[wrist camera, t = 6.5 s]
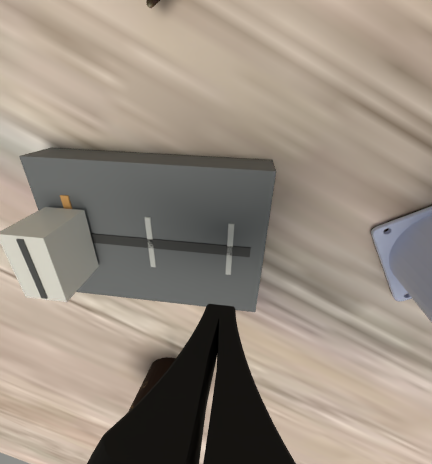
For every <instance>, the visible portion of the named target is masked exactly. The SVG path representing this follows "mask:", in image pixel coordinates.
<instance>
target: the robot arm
mask: <svg viewBox="0 0 432 464" xmlns="http://www.w3.org/2000/svg"><path fill="white" fill-rule="evenodd" d="M387 228H389V229H388V231H386V232H384V230H385V229H387ZM371 235H372V238H373V241H374V244H375V247H376V250H377V253H378V255H379V258H380V261H381V264H382V267H383V270H384V273H385V276H386V278H387V281H388V284H389V287H390V290H391V293H392V296H393V297H394V299H395V300H396V301H404V300H408V299H412V298H413V300H414V301H415V302H416V303H417V305H418V306H419V307H420V308H421V310H422V311H423V312H424V313H425V315H426V316H427V317H428V318H429V320H430V321H431V322H432V206H431V207H428V208H425V209H422V210H420V211H417V212H414V213H412V214H409V215H406V216H404V217H401V218H398V219H395V220H393V221H390V222H387V223H385V224H382V225H379V226H377V227H375V228H373V229H372V231H371ZM407 293H408V294H407ZM405 294H406V295H405ZM216 357H217V372H216V379H215V387H214V394H213V401H212V408H211V415H210V422H209V429H208V436H207V443H206V450H205V456H204V463H203V464H296V463H295V462H294V460H293V458H292V456H291V455H290V453H289V451H288V450H287V448H286V446H285V444H284V442H283V441H282V439H281V437H280V435H279V433H278V431H277V429H276V427H275V426H274V424H273V422H272V420H271V418H270V416H269V413H268V411H267V409H266V407H265V405H264V403H263V401H262V399H261V397H260V394H259V392H258V390H257V387H256V385H255V382H254V380H253V377H252V375H251V372H250V369H249V367H248V364H247V361H246V358H245V355H244V351H243V348H242V344H241V341H240V337H239V333H238V328H237V322H236V314H235V307H234V306H226V305H217V304H208V305H207V307H206V309H205V312H204V314H203V316H202V318H201V320H200V322H199V324H198V326H197V327H196V329H195V331H194V332H193V334H192V336H191V337H190V339H189V341H188V342H187V344H186V345H185V347H184V348H183V350H182V351H181V352H180V354H179V355H178V357H177V358H176V359H175V361H174V362H173V363H172V365H171V366H170V367H169V368H168V370H167V371H166V372H165V373H164V375H163V376H162V377H161V378H160V379H159V380H158V382H157V383H156V384H155V385H154V386H153V387H152V388H151V390H150V391H149V392H148V393H147V394H146V395H145V396H144V397H143V398H142V399H141V400H140V401H139V402H138V403H137V404H136V405H135V406H134V407H133V408H132V409H131V410H130V411H129V412H128V413H127V414H126V415H125V416H124V417H123V418H122V419H121V420H119V421H118V422H117V423H116V424H115V425H114V426H113V427H112V428H111V429H110V430H108V431H107V432H106V433H105V434H104V435H103V437H102V438H101V440H100V442H99V443H98V445H97V447H96V448H95V450H94V452H93V454H92V455H91V457H90V459H89V461H88V463H87V464H199V459H200V451H201V443H202V435H203V427H204V420H205V412H206V406H207V400H208V395H209V391H210V386H211V381H212V376H213V372H214V367H215V362H216Z"/></svg>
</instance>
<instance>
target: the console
mask: <svg viewBox="0 0 432 464" xmlns="http://www.w3.org/2000/svg"><path fill="white" fill-rule="evenodd" d="M19 157H20V160H21V162H22V165H23V168H24V171H25V174H26V176H27V179H28V182H29V185H30V188H31V190H32V193H33V196H34V199H35V202H36V204H37V207H38V210H41V209H43V208H44V207H52V208H65V209H77V210H84V211H85V215H86V219H87V223H88V226H89V230H90V234H91V238H92V242H93V246H94V250H95V254H96V258H97V261H98V265H99V266H98V268H97V269H96V270H95V271H94V272H93V273H92V274H91V275H90V277H89V278H88V279H87V280H86V281H85V282H84V283H83V284H82V286H81V287H80V288H79V289H78V290H77V291H76V292H81V293H90V294H99V295H108V296H117V297H126V298H135V299H143V300H152V301H161V302H170V303H179V304H188V305H197V306H205V307H207V305H208V304H217V305H226V306H234V307H235V310H241V311H250V312H255V311H256V304H257V297H258V290H259V284H260V277H261V270H262V264H263V257H264V250H265V243H266V237H267V230H268V223H269V217H270V210H271V203H272V196H273V190H274V183H275V176H276V169H275V166H274V163H273V161H272V160H261V159H243V158H225V157H207V156H189V155H171V154H153V153H135V152H117V151H99V150H81V149H63V148H48V149H44V150H41V151H37V152H33V153H29V154H25V155H21V156H19Z"/></svg>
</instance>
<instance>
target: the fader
mask: <svg viewBox="0 0 432 464" xmlns="http://www.w3.org/2000/svg"><path fill="white" fill-rule="evenodd" d="M0 244H1V246H2V248H3V250H4V252H5V254H6V256H7V259H8V261H9V263H10V265H11V267H12V269H13V271H14V273H15V275H16V278H17V280H18V282H19V284H20V286H21V288H22V290H23V292H24V294H25V296H26V297H28V298H37V299H45V300H54V301H62V302H67V301H68V300H69V299H70V298H71V297H72V296H73V295H74V293H75V292H76V291H77V290H78V289H79V288H80V287H81V286H82V284H83V283H84V282H85V281H86V280H87V279H88V278H89V277H90V275H91V274H92V273H93V272H94V271H95V270H96V269H97V268H98V266H99V265H98V261H97V258H96V254H95V250H94V246H93V242H92V238H91V234H90V230H89V226H88V223H87V219H86V215H85V211H84V210H77V209H65V208H52V207H44V208H43V209H41V210H39V211H37V212H35V213H33V214H31V215H30V216H28V217H26V218H24V219H22V220H20V221H19V222H17V223H15V224H13V225H11V226H9V227H7V228H6V229H4V230H2V231H0Z"/></svg>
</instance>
